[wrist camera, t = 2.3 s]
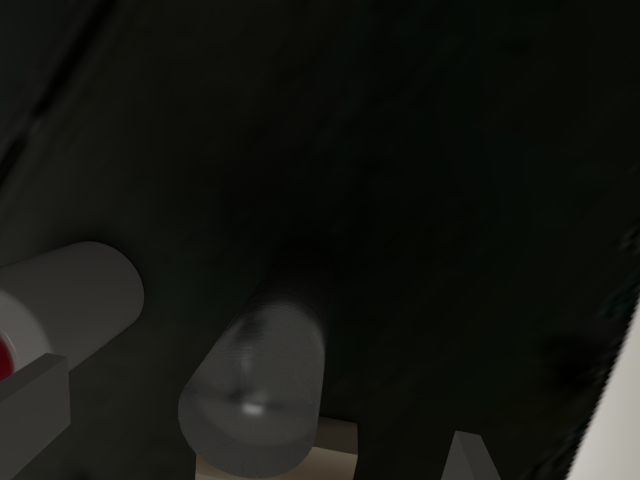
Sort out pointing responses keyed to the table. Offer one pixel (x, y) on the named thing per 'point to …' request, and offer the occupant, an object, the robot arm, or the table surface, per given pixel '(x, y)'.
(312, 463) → the jig
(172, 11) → the table surface
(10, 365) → the pill bottle
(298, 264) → the grey cylindrical peg
